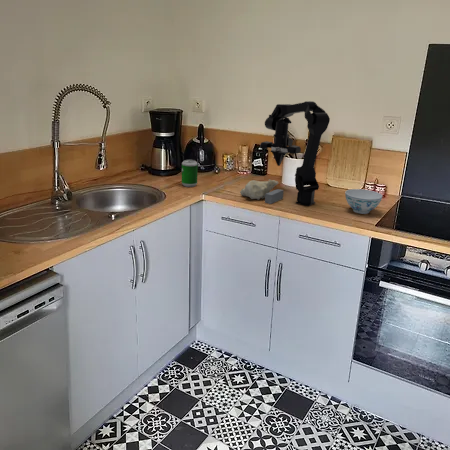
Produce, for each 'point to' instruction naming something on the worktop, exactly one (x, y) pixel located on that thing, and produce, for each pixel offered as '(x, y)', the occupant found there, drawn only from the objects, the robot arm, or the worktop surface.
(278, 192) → the bar
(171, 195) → the worktop surface
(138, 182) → the worktop surface
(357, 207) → the chinaware
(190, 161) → the soda can
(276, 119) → the robot arm
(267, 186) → the grey lumpy stone
